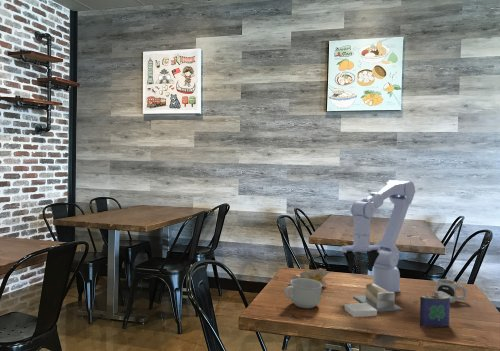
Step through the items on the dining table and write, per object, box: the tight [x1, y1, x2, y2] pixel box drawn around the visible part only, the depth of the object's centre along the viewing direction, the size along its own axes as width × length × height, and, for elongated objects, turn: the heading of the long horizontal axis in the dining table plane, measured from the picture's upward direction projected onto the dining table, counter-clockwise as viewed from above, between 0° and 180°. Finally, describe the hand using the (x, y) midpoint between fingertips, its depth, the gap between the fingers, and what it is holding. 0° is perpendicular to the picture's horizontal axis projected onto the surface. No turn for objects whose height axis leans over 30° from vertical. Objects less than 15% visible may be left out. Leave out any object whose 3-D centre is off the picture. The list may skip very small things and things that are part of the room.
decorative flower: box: [289, 267, 330, 286], centre depth 169 cm, size 15×11×10 cm
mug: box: [435, 278, 468, 304], centre depth 154 cm, size 10×7×7 cm, turn 65°
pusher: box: [365, 283, 396, 308], centre depth 148 cm, size 6×11×5 cm, turn 14°
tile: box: [344, 302, 378, 318], centre depth 139 cm, size 8×2×7 cm
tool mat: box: [353, 294, 403, 313], centre depth 149 cm, size 10×15×1 cm, turn 14°
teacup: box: [284, 278, 323, 309], centre depth 144 cm, size 14×11×8 cm
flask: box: [419, 290, 451, 329], centre depth 129 cm, size 9×3×11 cm, turn 95°
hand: (360, 270), depth 156 cm, fingers open, 7 cm apart
